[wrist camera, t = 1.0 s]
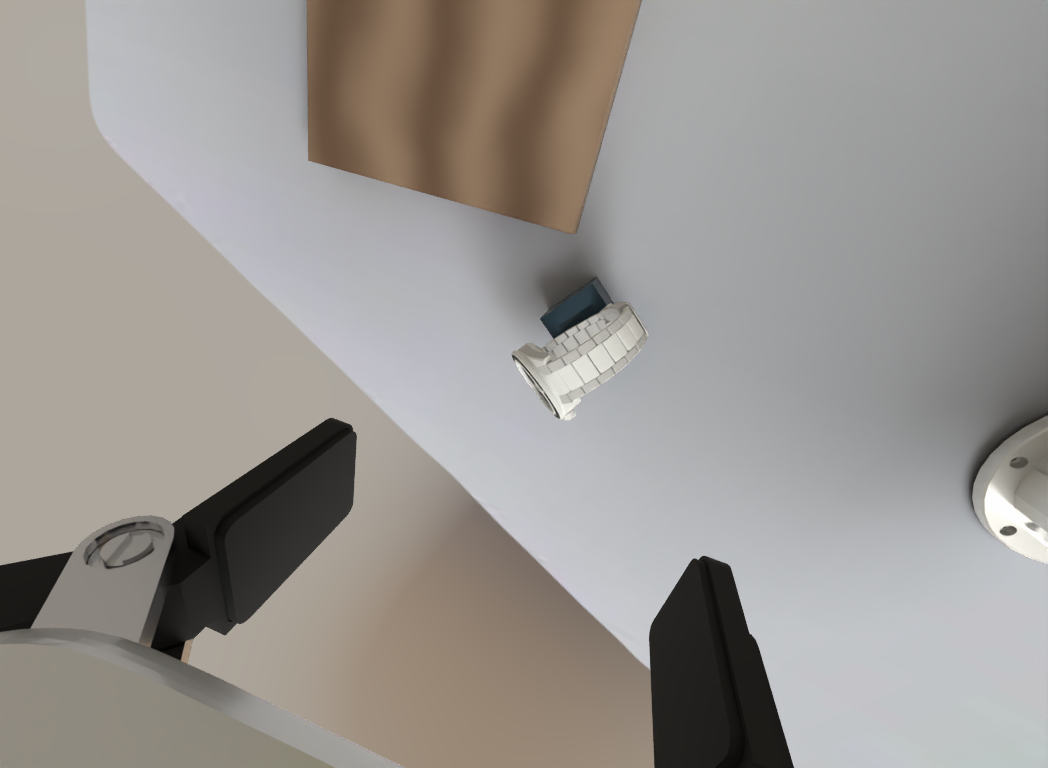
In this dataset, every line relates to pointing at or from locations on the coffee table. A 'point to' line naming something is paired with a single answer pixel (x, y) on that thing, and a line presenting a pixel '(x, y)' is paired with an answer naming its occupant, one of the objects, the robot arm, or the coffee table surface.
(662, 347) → the coffee table surface
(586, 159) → the walnut board
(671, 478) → the coffee table surface
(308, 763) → the robot arm
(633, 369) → the coffee table surface
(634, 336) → the watch
